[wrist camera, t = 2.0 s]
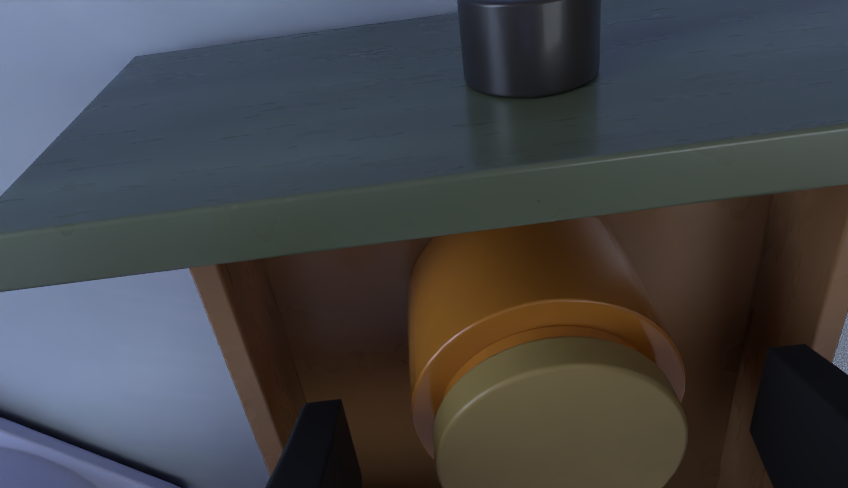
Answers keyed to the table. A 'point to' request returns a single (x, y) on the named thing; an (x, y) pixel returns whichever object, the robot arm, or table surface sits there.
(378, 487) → the drawer
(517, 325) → the jar
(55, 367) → the table surface
